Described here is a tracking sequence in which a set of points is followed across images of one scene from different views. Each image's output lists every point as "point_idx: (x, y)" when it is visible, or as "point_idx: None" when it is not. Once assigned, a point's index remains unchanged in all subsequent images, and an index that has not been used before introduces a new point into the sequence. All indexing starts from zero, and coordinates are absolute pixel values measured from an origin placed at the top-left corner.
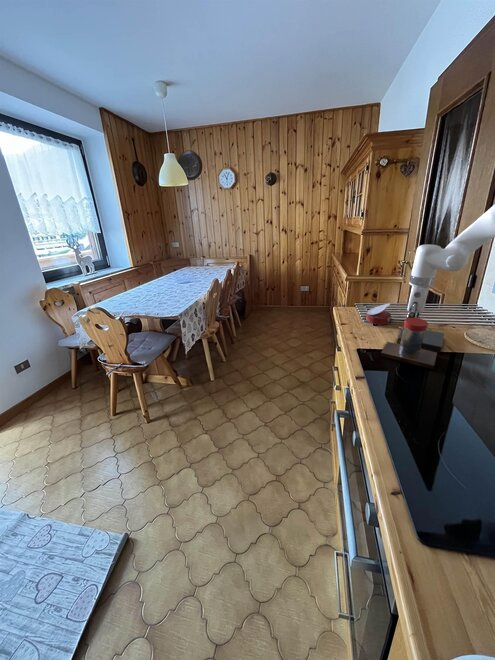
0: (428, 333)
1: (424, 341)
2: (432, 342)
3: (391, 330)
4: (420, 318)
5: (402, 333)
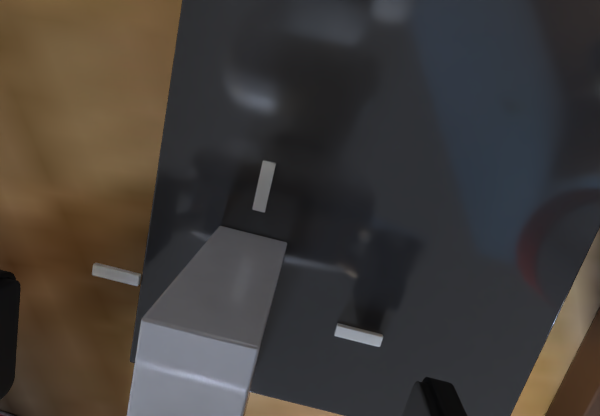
0: (295, 103)
1: (560, 190)
2: (578, 90)
3: None
4: (151, 323)
5: (370, 399)
